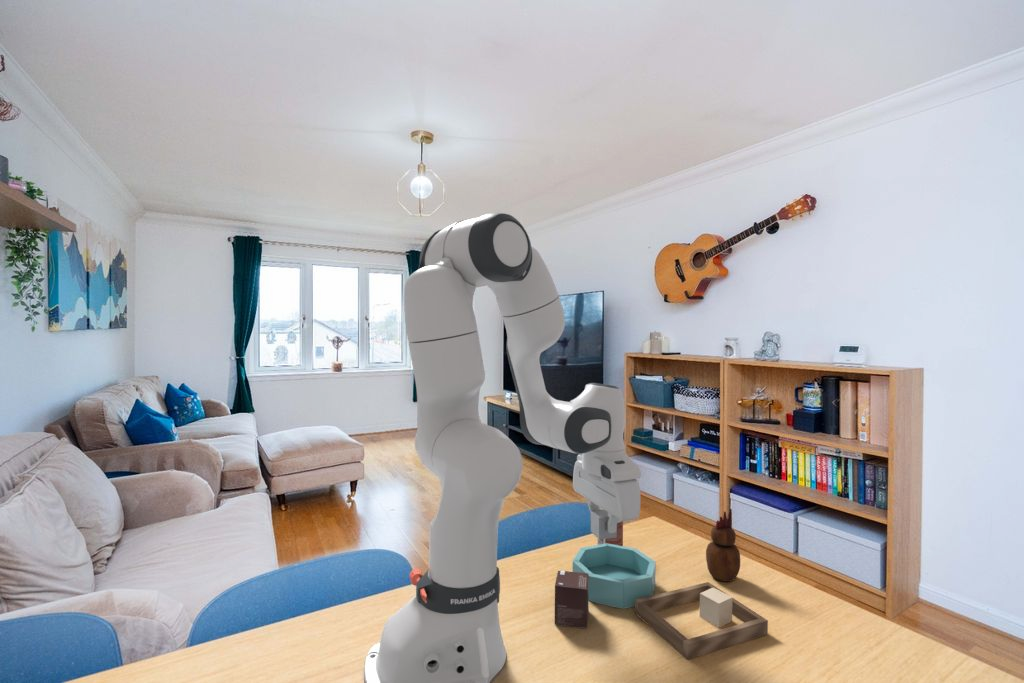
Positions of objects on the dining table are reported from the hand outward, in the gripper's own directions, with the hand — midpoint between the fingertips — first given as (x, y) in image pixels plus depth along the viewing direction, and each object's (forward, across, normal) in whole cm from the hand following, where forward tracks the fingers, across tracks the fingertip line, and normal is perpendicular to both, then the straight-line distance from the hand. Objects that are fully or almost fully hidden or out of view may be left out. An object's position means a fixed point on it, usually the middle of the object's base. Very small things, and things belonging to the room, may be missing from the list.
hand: (603, 526), depth 100 cm
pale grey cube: (+2, 0, 0) cm, 2 cm away
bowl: (+13, 0, +3) cm, 13 cm away
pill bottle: (+13, -15, +12) cm, 23 cm away
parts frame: (+13, +17, +10) cm, 23 cm away
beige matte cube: (+13, +17, +14) cm, 25 cm away
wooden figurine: (+13, +6, +27) cm, 30 cm away
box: (+13, +7, -11) cm, 19 cm away
